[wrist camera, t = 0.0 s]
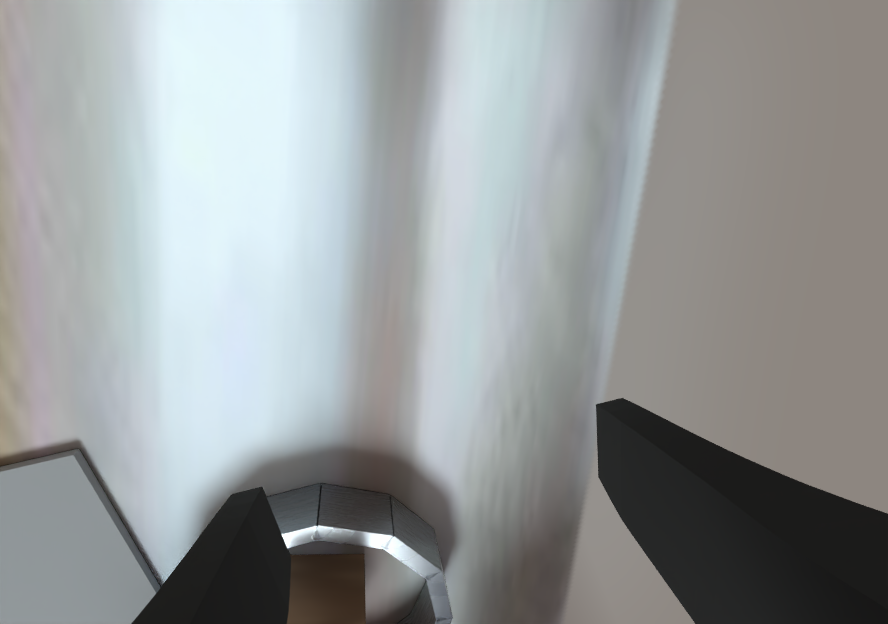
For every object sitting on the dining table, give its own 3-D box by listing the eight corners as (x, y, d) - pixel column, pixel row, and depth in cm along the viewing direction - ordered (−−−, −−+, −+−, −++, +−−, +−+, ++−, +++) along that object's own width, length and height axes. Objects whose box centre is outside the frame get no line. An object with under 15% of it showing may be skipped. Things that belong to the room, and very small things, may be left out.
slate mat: (188, 634, 23) (185, 642, 23) (-45, 698, 22) (-51, 708, 22) (78, 448, 19) (73, 454, 18) (-223, 517, 18) (-235, 526, 17)
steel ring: (456, 627, 27) (465, 674, 25) (237, 691, 26) (225, 746, 23) (417, 459, 22) (424, 497, 20) (144, 527, 21) (117, 577, 18)
